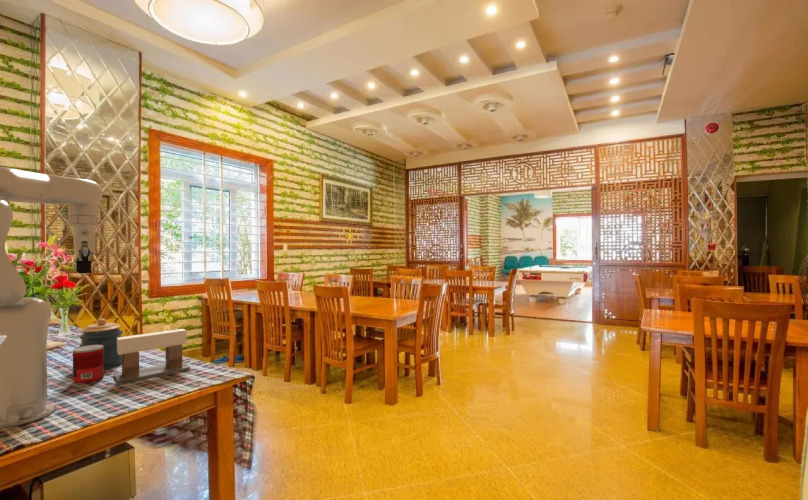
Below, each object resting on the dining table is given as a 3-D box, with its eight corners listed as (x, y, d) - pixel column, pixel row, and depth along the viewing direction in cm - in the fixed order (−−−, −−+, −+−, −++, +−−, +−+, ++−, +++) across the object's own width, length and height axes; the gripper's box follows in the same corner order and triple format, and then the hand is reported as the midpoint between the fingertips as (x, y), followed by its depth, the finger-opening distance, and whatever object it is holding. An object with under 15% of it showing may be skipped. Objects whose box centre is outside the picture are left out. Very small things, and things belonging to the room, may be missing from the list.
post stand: (190, 369, 136) (189, 345, 136) (118, 384, 122) (117, 357, 121) (182, 363, 143) (182, 340, 143) (113, 376, 129) (113, 350, 129)
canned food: (109, 377, 128) (109, 345, 128) (84, 385, 121) (83, 351, 121) (93, 375, 130) (92, 343, 130) (67, 383, 123) (66, 349, 123)
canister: (120, 357, 150) (120, 314, 150) (126, 365, 141) (125, 318, 141) (77, 365, 141) (77, 318, 141) (81, 373, 132) (80, 323, 132)
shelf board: (186, 343, 138) (186, 330, 138) (118, 354, 124) (118, 339, 124) (183, 341, 141) (183, 328, 141) (116, 352, 127) (116, 337, 127)
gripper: (100, 220, 121) (100, 273, 122) (95, 223, 134) (95, 270, 134) (69, 219, 116) (69, 274, 116) (66, 222, 129) (67, 271, 129)
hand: (83, 272), depth 125 cm, fingers open, 9 cm apart
